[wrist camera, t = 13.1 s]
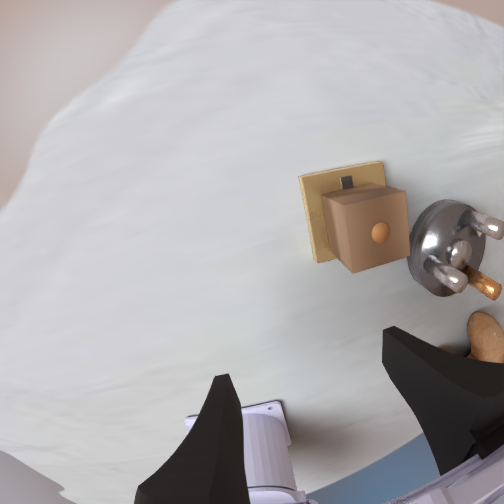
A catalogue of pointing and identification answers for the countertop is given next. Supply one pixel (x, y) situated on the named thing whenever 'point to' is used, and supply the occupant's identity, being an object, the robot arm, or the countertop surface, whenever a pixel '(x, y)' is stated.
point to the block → (367, 225)
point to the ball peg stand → (452, 249)
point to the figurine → (485, 338)
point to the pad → (330, 183)
